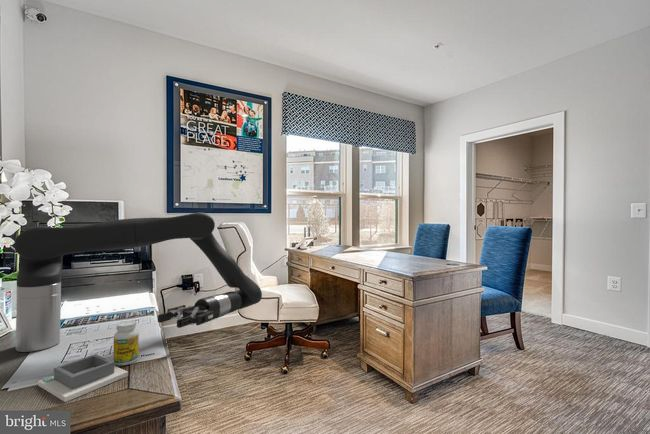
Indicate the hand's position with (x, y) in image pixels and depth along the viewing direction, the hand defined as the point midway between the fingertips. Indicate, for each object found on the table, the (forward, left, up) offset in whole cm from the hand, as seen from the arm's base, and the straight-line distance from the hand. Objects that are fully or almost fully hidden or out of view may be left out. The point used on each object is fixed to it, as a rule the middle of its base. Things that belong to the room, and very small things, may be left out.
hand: (167, 321), depth 90 cm
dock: (+2, -21, -7) cm, 22 cm away
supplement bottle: (0, -11, -7) cm, 13 cm away
